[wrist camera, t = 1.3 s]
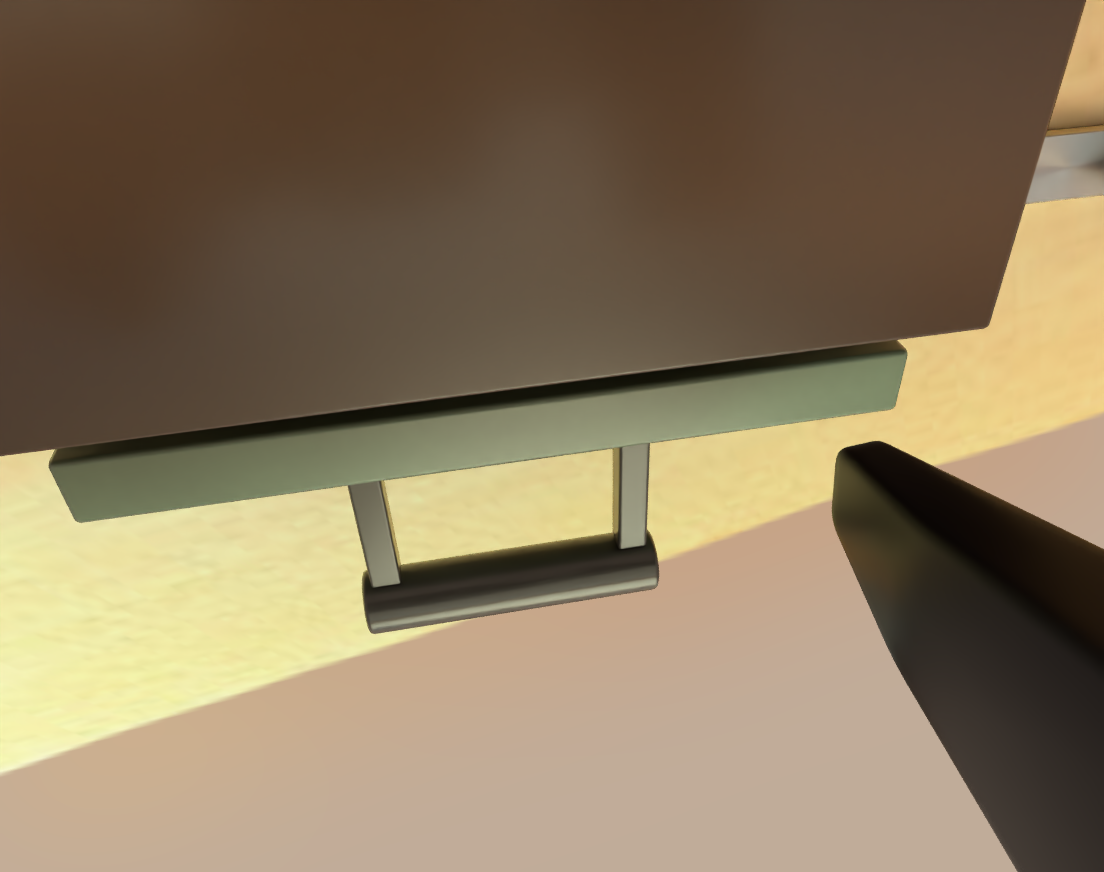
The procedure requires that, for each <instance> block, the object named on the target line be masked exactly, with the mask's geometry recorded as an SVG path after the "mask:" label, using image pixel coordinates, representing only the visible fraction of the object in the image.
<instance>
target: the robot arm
mask: <svg viewBox="0 0 1104 872" xmlns="http://www.w3.org/2000/svg"><path fill="white" fill-rule="evenodd" d="M832 518H833V522H834V526H835V529H836V532H837V535H838V537H839V539H840V541H841V543H842V546H843V548H844V550H845V553H846V555H847V557H848V559H849V562H850V564H851V566H852V568H853V571H854V573H855V575H856V577H857V580H858V582H859V584H860V586H861V589H862V591H863V593H864V595H865V598H866V600H867V602H868V604H869V606H870V609H871V611H872V614H873V616H874V618H875V620H876V623H877V625H878V627H879V629H880V632H881V634H882V636H883V638H884V641H885V643H886V645H887V647H888V649H889V651H890V653H891V655H892V657H893V659H894V661H895V663H896V665H897V667H898V669H899V670H900V672H901V674H902V676H903V678H904V680H905V681H906V683H907V685H908V686H909V688H910V690H911V692H912V693H913V695H914V697H915V698H916V700H917V702H918V703H919V705H920V707H921V709H922V710H923V712H924V714H925V715H926V717H927V719H928V720H929V722H930V724H931V725H932V727H933V729H934V730H935V732H936V734H937V736H938V737H939V739H940V741H941V743H942V744H943V746H944V747H945V749H946V751H947V752H948V754H949V756H950V758H951V759H952V761H953V763H954V765H955V766H956V768H957V770H958V771H959V773H960V775H961V776H962V778H963V780H964V782H965V783H966V785H967V786H968V788H969V790H970V792H971V793H972V795H973V797H974V798H975V800H976V802H977V804H978V805H979V807H980V809H981V810H982V812H983V814H984V816H985V817H986V819H987V820H988V822H989V824H990V826H991V827H992V829H993V831H994V833H995V834H996V836H997V838H998V839H999V841H1000V843H1001V844H1002V846H1003V848H1004V849H1005V851H1006V853H1007V855H1008V856H1009V858H1010V860H1011V861H1012V863H1013V865H1014V866H1015V868H1016V870H1017V871H1018V872H1104V549H1102V548H1100V547H1098V546H1096V545H1094V544H1092V543H1090V542H1088V541H1086V540H1084V539H1082V538H1080V537H1078V536H1076V535H1073V534H1071V533H1069V532H1067V531H1065V530H1063V529H1061V528H1059V527H1057V526H1055V525H1053V524H1051V523H1049V522H1047V521H1045V520H1043V519H1041V518H1039V517H1036V516H1035V515H1033V514H1031V513H1028V512H1026V511H1024V510H1022V509H1020V508H1018V507H1016V506H1014V505H1012V504H1010V503H1008V502H1006V501H1004V500H1002V499H1000V498H998V497H996V496H994V495H992V494H990V493H987V492H985V491H983V490H981V489H979V488H977V487H975V486H973V485H971V484H969V483H967V482H965V481H963V480H961V479H959V478H957V477H955V476H953V475H950V474H949V473H946V472H944V471H942V470H940V469H938V468H936V467H934V466H932V465H930V464H928V463H926V462H924V461H922V460H920V459H918V458H916V457H914V456H912V455H910V454H908V453H905V452H903V451H901V450H899V449H897V448H895V447H893V446H891V445H889V444H887V443H884V442H881V441H872V442H868V443H863V444H859V445H854V446H850V447H846V448H844V449H842V450H841V451H840V452H839V453H838V455H837V458H836V464H835V476H834V488H833V500H832Z"/></svg>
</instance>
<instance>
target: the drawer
mask: <svg viewBox="0 0 1104 872" xmlns="http://www.w3.org/2000/svg"><path fill="white" fill-rule="evenodd" d="M906 359H907V351H906V349H905V348H904V347H903V346H902V345H901V344H900V343H899V342H898V341H897V340H891V341H884V342H876V343H868V344H861V345H853V346H845V347H837V348H830V349H822V350H814V351H807V352H799V353H791V354H783V355H776V356H768V357H760V358H753V359H745V360H737V361H730V362H722V363H714V364H706V365H699V366H691V367H683V368H676V369H668V370H660V371H652V372H645V373H637V374H629V375H622V376H614V377H606V378H599V379H591V380H583V381H575V382H568V383H560V384H552V385H545V386H537V387H529V388H521V389H514V390H506V391H498V392H491V393H483V394H475V395H468V396H460V397H452V398H444V399H437V400H429V401H421V402H414V403H406V404H398V405H390V406H383V407H375V408H367V409H360V410H352V411H344V412H337V413H329V414H321V415H313V416H306V417H298V418H290V419H283V420H275V421H267V422H259V423H252V424H244V425H236V426H229V427H221V428H213V429H206V430H198V431H190V432H182V433H175V434H167V435H159V436H152V437H144V438H136V439H128V440H121V441H113V442H105V443H98V444H90V445H82V446H75V447H67V448H59V449H55V450H54V453H53V455H52V457H51V459H50V461H49V469H50V471H51V473H52V475H53V477H54V479H55V481H56V483H57V485H58V487H59V489H60V491H61V493H62V495H63V497H64V499H65V501H66V503H67V505H68V507H69V509H70V511H71V513H72V515H73V517H74V519H75V521H77V522H80V523H83V522H90V521H97V520H104V519H111V518H118V517H126V516H133V515H140V514H147V513H154V512H161V511H168V510H176V509H183V508H190V507H197V506H204V505H211V504H219V503H226V502H233V501H240V500H247V499H254V498H261V497H269V496H276V495H283V494H290V493H297V492H304V491H312V490H319V489H326V488H333V487H340V486H347V485H348V489H349V494H350V498H351V502H352V507H353V511H354V515H355V519H356V524H357V528H358V532H359V536H360V541H361V545H362V549H363V553H364V558H365V562H366V566H367V570H366V571H365V572H364V573H363V577H362V593H363V604H364V611H365V617H366V622H367V626H368V628H369V630H370V632H371V633H373V634H377V633H383V632H390V631H396V630H402V629H408V628H415V627H421V626H427V625H433V624H439V623H446V622H452V621H458V620H464V619H471V618H477V617H483V616H489V615H496V614H502V613H508V612H514V611H520V610H526V609H533V608H539V607H545V606H552V605H558V604H564V603H570V602H577V601H583V600H589V599H596V598H602V597H608V596H614V595H621V594H627V593H633V592H639V591H645V590H651V589H655V588H656V587H657V586H658V581H659V565H658V558H657V552H656V548H655V544H654V541H653V538H652V536H651V534H650V532H649V531H648V530H647V509H648V481H649V453H650V443H655V442H662V441H669V440H677V439H684V438H691V437H698V436H705V435H712V434H720V433H727V432H734V431H741V430H748V429H755V428H763V427H770V426H777V425H784V424H791V423H798V422H805V421H813V420H820V419H827V418H834V417H841V416H848V415H856V414H863V413H870V412H877V411H884V410H891V409H893V408H894V407H895V405H896V400H897V396H898V392H899V388H900V384H901V380H902V376H903V371H904V367H905V363H906ZM612 448H613V533H608V534H601V535H594V536H588V537H581V538H575V539H568V540H561V541H555V542H548V543H542V544H535V545H528V546H522V547H515V548H508V549H502V550H495V551H489V552H482V553H475V554H469V555H462V556H456V557H449V558H442V559H436V560H429V561H423V562H416V563H409V564H403V565H401V562H400V557H399V552H398V547H397V543H396V538H395V533H394V528H393V523H392V518H391V513H390V508H389V503H388V498H387V493H386V488H385V483H384V480H390V479H397V478H405V477H412V476H419V475H426V474H433V473H440V472H448V471H455V470H462V469H469V468H476V467H483V466H491V465H498V464H505V463H512V462H519V461H526V460H533V459H541V458H548V457H555V456H562V455H569V454H576V453H584V452H591V451H598V450H605V449H612Z"/></svg>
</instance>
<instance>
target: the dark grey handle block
mask: <svg viewBox="0 0 1104 872" xmlns="http://www.w3.org/2000/svg"><path fill="white" fill-rule="evenodd" d="M1101 195H1104V125H1099V126H1089V127H1079V128H1069V129H1059V130H1050V131H1047V133H1046V136H1045V139H1044V143H1043V146H1042V150H1041V153H1040V156H1039V160H1038V163H1037V166H1036V170H1035V173H1034V176H1033V180H1032V183H1031V186H1030V190H1029V193H1028V196H1027V200H1026V203H1025V204H1030V203H1039V202H1048V201H1057V200H1066V199H1075V198H1084V197H1093V196H1101Z"/></svg>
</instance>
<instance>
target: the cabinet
mask: <svg viewBox="0 0 1104 872" xmlns="http://www.w3.org/2000/svg"><path fill="white" fill-rule="evenodd" d="M1085 2H1086V0H0V456H5V455H13V454H21V453H28V452H36V451H44V450H51V449H59V448H67V447H75V446H82V445H90V444H98V443H105V442H113V441H121V440H128V439H136V438H144V437H152V436H159V435H167V434H175V433H182V432H190V431H198V430H206V429H213V428H221V427H229V426H236V425H244V424H252V423H259V422H267V421H275V420H283V419H290V418H298V417H306V416H313V415H321V414H329V413H337V412H344V411H352V410H360V409H367V408H375V407H383V406H390V405H398V404H406V403H414V402H421V401H429V400H437V399H444V398H452V397H460V396H468V395H475V394H483V393H491V392H498V391H506V390H514V389H521V388H529V387H537V386H545V385H552V384H560V383H568V382H575V381H583V380H591V379H599V378H606V377H614V376H622V375H629V374H637V373H645V372H652V371H660V370H668V369H676V368H683V367H691V366H699V365H706V364H714V363H722V362H730V361H737V360H745V359H753V358H760V357H768V356H776V355H783V354H791V353H799V352H807V351H814V350H822V349H830V348H837V347H845V346H853V345H861V344H868V343H876V342H884V341H891V340H899V339H907V338H914V337H922V336H930V335H938V334H945V333H953V332H961V331H968V330H976V329H984V328H986V327H988V325H989V323H990V320H991V317H992V313H993V310H994V307H995V303H996V300H997V297H998V293H999V290H1000V287H1001V283H1002V280H1003V277H1004V273H1005V270H1006V267H1007V263H1008V260H1009V256H1010V253H1011V250H1012V246H1013V243H1014V240H1015V236H1016V233H1017V230H1018V226H1019V223H1020V220H1021V216H1022V213H1023V210H1024V206H1025V203H1026V200H1027V196H1028V193H1029V190H1030V186H1031V183H1032V180H1033V176H1034V173H1035V170H1036V166H1037V163H1038V160H1039V156H1040V153H1041V150H1042V146H1043V143H1044V139H1045V136H1046V133H1047V129H1048V126H1049V123H1050V119H1051V116H1052V113H1053V109H1054V106H1055V103H1056V99H1057V96H1058V93H1059V89H1060V86H1061V83H1062V79H1063V76H1064V73H1065V69H1066V66H1067V63H1068V59H1069V56H1070V53H1071V49H1072V46H1073V43H1074V39H1075V36H1076V32H1077V29H1078V26H1079V22H1080V19H1081V16H1082V12H1083V9H1084V6H1085Z"/></svg>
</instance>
